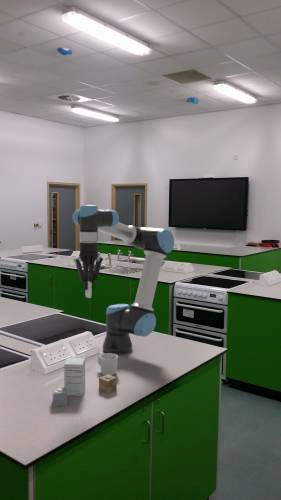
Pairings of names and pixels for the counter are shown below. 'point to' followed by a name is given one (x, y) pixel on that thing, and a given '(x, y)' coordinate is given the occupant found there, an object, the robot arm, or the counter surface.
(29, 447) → the counter surface
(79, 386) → the miniature drawer cabinet
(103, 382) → the beige speckled cube
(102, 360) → the cup
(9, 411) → the counter surface
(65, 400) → the slate block
